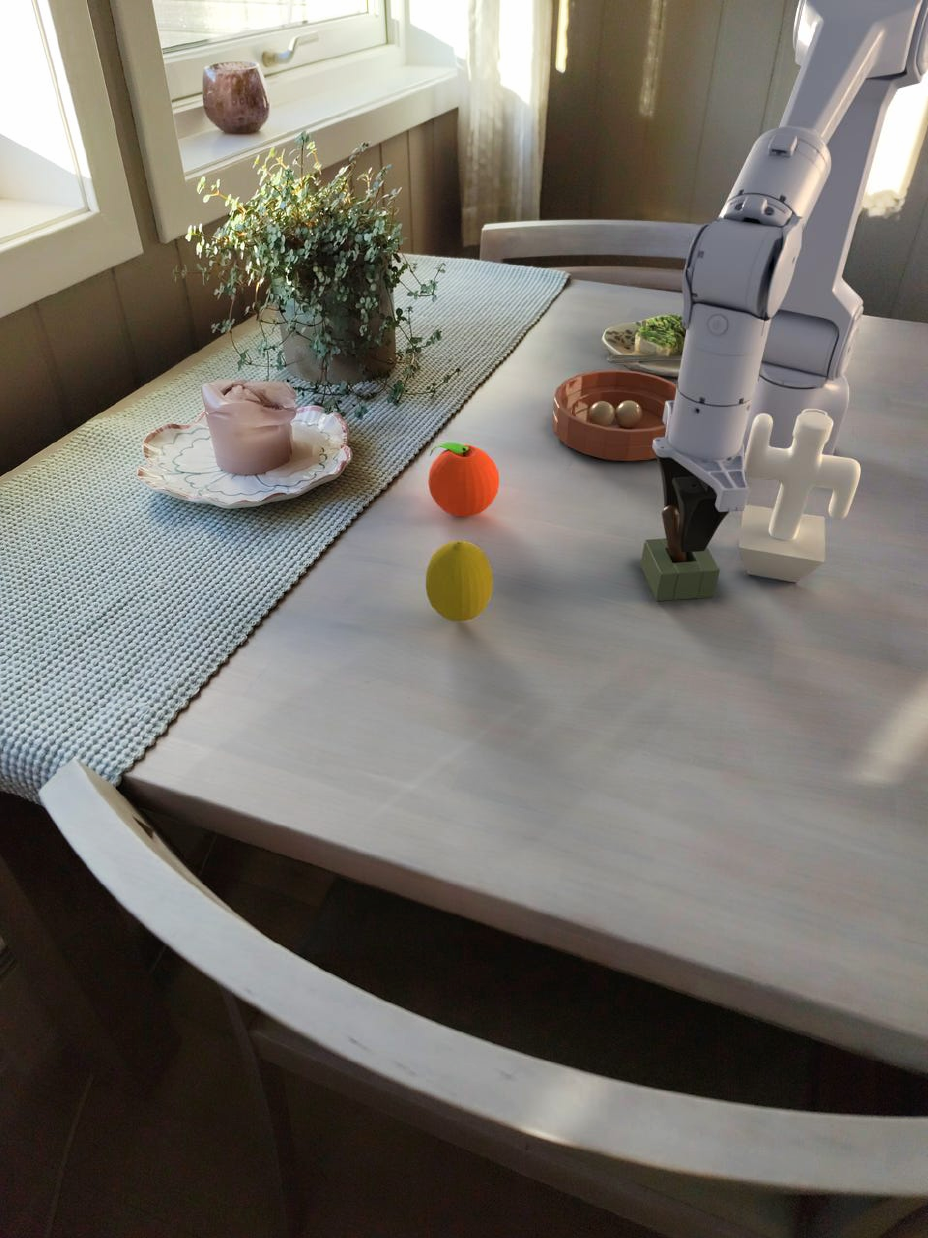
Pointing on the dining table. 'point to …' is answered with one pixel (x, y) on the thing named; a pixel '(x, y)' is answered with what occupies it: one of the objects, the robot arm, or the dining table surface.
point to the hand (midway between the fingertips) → (685, 536)
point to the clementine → (463, 479)
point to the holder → (678, 572)
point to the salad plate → (648, 345)
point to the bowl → (615, 389)
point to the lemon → (459, 581)
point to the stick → (672, 533)
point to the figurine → (793, 498)
